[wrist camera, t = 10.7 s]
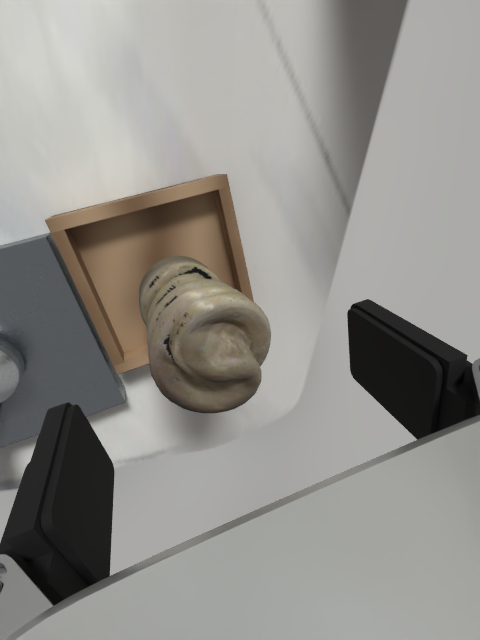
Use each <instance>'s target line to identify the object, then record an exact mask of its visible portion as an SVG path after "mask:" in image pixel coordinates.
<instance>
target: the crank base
mask: <svg viewBox="0 0 480 640" xmlns="http://www.w3.org/2000/svg"><path fill="white" fill-rule="evenodd" d="M0 339H2V340H4V341H6V342H8V343H10V344H11V345H13V346H14V347H15V348H16V349H17V350H18V351H19V352H20V354H21V355H22V357H23V360H24V372H23V375H22V377H21V379H20V381H19V383H18V385H17V387H16V389H15V391H14V392H13V394H12V395H11V396H10V397H9V398H8V399H6V400H5V401H3V402H1V403H0V448H2V447H5V446H7V445H10V444H13V443H15V442H18V441H21V440H24V439H26V438H29V437H32V436H34V435H37V434H40V431H41V428H42V425H43V422H44V419H45V416H46V413H47V411H48V409H50V408H53V407H55V406H58V405H61V404H64V403H67V402H69V403H71V404H72V405H76V404H77V405H79V407H80V408H81V410H82V411H83V413H84V415H85V417H86V416H89V415H91V414H94V413H97V412H100V411H102V410H105V409H108V408H110V407H113V406H116V405H119V404H121V403H124V402H125V387H124V385H123V383H122V381H121V379H120V377H119V375H118V374H117V372H116V370H115V368H114V366H113V364H112V362H111V359H110V357H109V355H108V353H107V351H106V349H105V347H104V345H103V342H102V340H101V338H100V336H99V334H98V332H97V330H96V328H95V325H94V323H93V321H92V319H91V317H90V315H89V313H88V311H87V309H86V306H85V304H84V302H83V300H82V298H81V296H80V294H79V292H78V289H77V287H76V285H75V283H74V281H73V279H72V277H71V275H70V272H69V270H68V268H67V266H66V264H65V262H64V260H63V258H62V255H61V253H60V251H59V249H58V247H57V245H56V243H55V241H54V239H53V236H52V234H51V233H48V234H44V235H40V236H36V237H32V238H28V239H25V240H21V241H17V242H13V243H9V244H5V245H2V246H0Z"/></svg>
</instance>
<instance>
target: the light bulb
mask: <svg viewBox="0 0 480 640" xmlns="http://www.w3.org/2000/svg"><path fill="white" fill-rule="evenodd" d="M139 306H140V312H141V317H142V319H143V322H144V324H145V325H146V327H147V329H146V330H147V346H148V356H149V364H150V371H151V375H152V377H153V379H154V381H155V383H156V385H157V387H158V388H159V390H160V391H161V393H162V394H163V395H164V396H165V397H166V398H168V399H169V400H170V401H171V402H173V403H175V404H176V405H178V406H180V407H182V408H184V409H187V410H190V411H194V412H199V413H219V412H224V411H228V410H232V409H235V408H237V407H239V406H241V405H242V404H244V403H245V402H247V401H248V400H249V399H250V398H251V397H252V396H253V395H254V394H255V393H256V391H257V389H258V387H259V385H260V383H261V369H260V366H261V365H262V363H263V362H264V360H265V358H266V356H267V353H268V351H269V347H270V340H271V332H270V325H269V321H268V319H267V317H266V315H265V314H264V312H263V311H262V309H261V308H260V307H259V306H258V305H257V304H255V303H254V302H253V301H251V300H250V299H249V298H248V297H246V296H245V295H244V294H243V293H241V292H239V291H238V290H236V289H233V288H232V287H230V286H229V285H227V284H225V283H223V282H221V280H220V279H219V278H218V276H217V275H216V274H215V273H214V272H213V271H212V270H210V269H209V268H208V267H207V266H206V265H204V264H203V263H201V262H199V261H198V260H196V259H193V258H190V257H185V256H172V257H168V258H166V259H163V260H161V261H159V262H157V263H156V264H154V265H153V266H152V267H151V268H150V269H149V270H148V271H147V272H146V274H145V275H144V277H143V279H142V281H141V284H140V287H139Z"/></svg>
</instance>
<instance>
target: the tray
mask: <svg viewBox="0 0 480 640" xmlns="http://www.w3.org/2000/svg"><path fill="white" fill-rule="evenodd" d="M45 222H46V224H47V226H48V228H49V230H50V232H51V234H52V236H53V239H54V241H55V243H56V245H57V247H58V249H59V251H60V253H61V255H62V258H63V260H64V262H65V264H66V266H67V268H68V270H69V272H70V275H71V277H72V279H73V281H74V283H75V285H76V287H77V289H78V292H79V294H80V296H81V298H82V300H83V302H84V304H85V306H86V309H87V311H88V313H89V315H90V317H91V319H92V321H93V323H94V325H95V328H96V330H97V332H98V334H99V336H100V338H101V340H102V342H103V345H104V347H105V349H106V351H107V353H108V355H109V357H110V359H111V362H112V364H113V366H114V368H115V370H116V372H117V374H120V373H123V372H126V371H129V370H132V369H135V368H138V367H140V366H143V365H146V364H149V356H148V346H147V330H146V329H147V327H146V325H145V324H144V322H143V319H142V317H141V312H140V306H139V287H140V284H141V281H142V279H143V277H144V275H145V274H146V272H147V271H148V270H149V269H150V268H151V267H152V266H153V265H154V264H156V263H157V262H159V261H161V260H163V259H166V258H168V257H172V256H185V257H190V258H193V259H196V260H198V261H199V262H201V263H203V264H204V265H206V266H207V267H208V268H209V269H210V270H212V271H213V272H214V273H215V274H216V275H217V276H218V278H219V279H220V280H221V282H223V283H225V284H227V285H229V286H230V287H232V288H233V289H236V290H238V291H239V292H241V293H243V294H244V295H245V296H246V297H248V298H249V299H250V300H251V301H253V296H252V291H251V287H250V282H249V277H248V272H247V268H246V263H245V258H244V254H243V249H242V244H241V239H240V235H239V230H238V225H237V220H236V216H235V211H234V206H233V201H232V197H231V192H230V187H229V183H228V178H227V174H218V175H214V176H210V177H206V178H202V179H198V180H194V181H190V182H186V183H182V184H178V185H174V186H170V187H166V188H162V189H158V190H154V191H150V192H146V193H142V194H138V195H134V196H130V197H126V198H122V199H118V200H114V201H110V202H106V203H102V204H98V205H94V206H90V207H86V208H82V209H78V210H74V211H70V212H67V213H63V214H59V215H55V216H52V217H50V218H48V219H46V220H45ZM253 302H254V301H253Z"/></svg>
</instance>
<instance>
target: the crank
mask: <svg viewBox="0 0 480 640" xmlns="http://www.w3.org/2000/svg"><path fill="white" fill-rule="evenodd" d="M23 372H24V360H23V357H22V355H21V354H20V352H19V351H18V350H17V349H16V348H15V347H14V346H13V345H11V344H10V343H8V342H6V341H4V340H2V339H0V403H1V402H3V401H5V400H6V399H8V398H9V397H10V396H11V395H12V394H13V392H14V391H15V389H16V387H17V385H18V383H19V381H20V379H21V377H22V375H23Z"/></svg>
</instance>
